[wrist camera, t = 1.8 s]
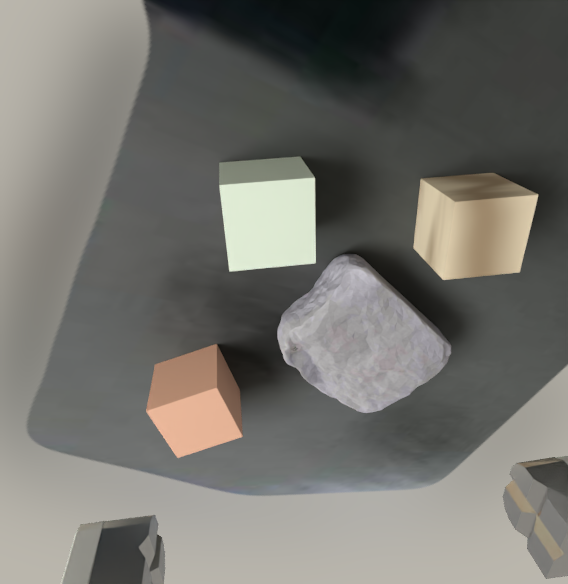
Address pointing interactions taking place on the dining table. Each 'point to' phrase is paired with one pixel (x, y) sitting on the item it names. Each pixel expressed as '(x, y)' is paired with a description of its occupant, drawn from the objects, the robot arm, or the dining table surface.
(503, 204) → the birch cube
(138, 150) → the dining table surface
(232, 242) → the sage cube
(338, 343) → the stone block
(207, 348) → the terracotta cube
